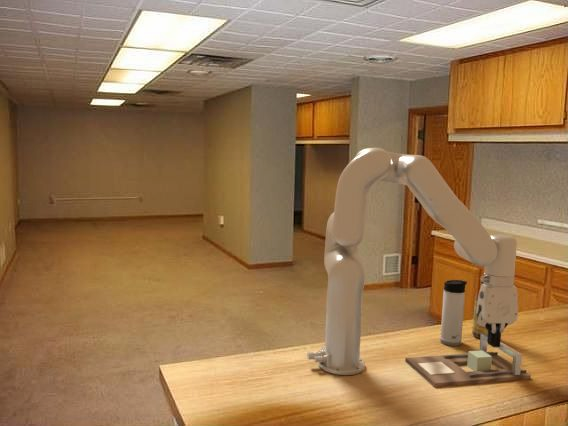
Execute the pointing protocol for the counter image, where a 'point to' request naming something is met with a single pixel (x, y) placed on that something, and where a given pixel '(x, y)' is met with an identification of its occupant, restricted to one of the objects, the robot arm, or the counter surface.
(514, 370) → the gate
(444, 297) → the travel mug
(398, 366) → the counter surface
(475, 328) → the sauce bottle
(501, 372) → the board
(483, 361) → the block
